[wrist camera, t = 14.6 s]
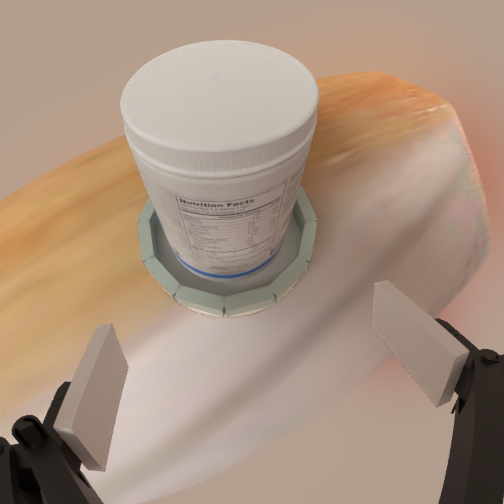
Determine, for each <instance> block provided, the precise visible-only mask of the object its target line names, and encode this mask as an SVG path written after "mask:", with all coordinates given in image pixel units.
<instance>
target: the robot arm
mask: <svg viewBox="0 0 504 504" xmlns="http://www.w3.org/2000/svg"><path fill="white" fill-rule="evenodd" d="M371 328H372V329H373V331H374V332H375V333H376V334H377V335H378V337H379V338H380V339H381V340H382V341H383V342H384V344H385V345H386V346H387V347H388V348H389V350H390V351H391V352H392V353H393V354H394V356H395V357H396V358H397V359H398V361H399V362H400V363H401V364H402V365H403V367H404V368H405V369H406V370H407V371H408V373H409V374H410V375H411V376H412V378H413V379H414V380H415V381H416V383H417V384H418V385H419V386H420V387H421V389H422V390H423V391H424V393H425V394H426V395H427V396H428V398H429V399H430V400H431V401H432V403H433V404H434V405H435V406H436V407H439V406H441V405H443V404H445V403H447V402H449V401H450V400H451V398H452V395H453V393H454V391H455V392H456V393H457V394H458V398H457V400H456V403H455V405H454V407H453V409H452V412H451V413H452V414H453V413H454V411H455V409H456V412H455V420H454V429H453V437H452V442H451V449H450V455H449V460H448V465H447V470H446V475H445V480H444V484H443V488H442V492H441V496H440V500H439V504H503V497H504V355H499V354H498V353H496V352H495V351H493V350H489V349H482V350H479V349H477V348H476V347H475V346H474V345H473V344H472V343H471V342H470V341H468V340H467V339H466V338H465V337H464V336H463V335H460V333H459V332H458V331H457V330H455V329H454V328H453V327H452V326H451V325H450V324H449V323H448V322H445V321H443V320H441V319H439V318H437V319H433V318H432V317H431V316H430V315H429V314H427V313H426V312H425V311H424V310H423V309H422V308H420V307H419V306H418V305H417V304H416V303H415V302H413V301H412V300H411V299H410V298H409V297H407V296H406V295H405V294H404V293H403V292H401V291H400V290H399V289H398V288H397V287H395V286H394V285H393V284H392V283H390V282H389V281H388V280H383V281H379V282H375V284H374V297H373V308H372V318H371ZM127 371H128V364H127V362H126V359H125V357H124V354H123V352H122V349H121V347H120V344H119V342H118V339H117V336H116V334H115V331H114V328H113V325H112V324H101V325H98V326H97V328H96V330H95V332H94V334H93V336H92V338H91V340H90V342H89V345H88V347H87V349H86V351H85V353H84V355H83V357H82V359H81V362H80V364H79V366H78V368H77V370H76V373H75V375H74V377H73V379H72V382H64V383H63V384H62V385H61V386H60V387H59V388H58V389H57V392H56V394H55V396H54V400H52V403H51V407H49V410H48V412H47V414H46V417H45V419H44V422H43V424H42V423H41V422H40V421H39V419H38V418H37V417H35V416H33V415H26V416H23V417H21V418H19V419H18V420H17V421H16V422H15V423H14V425H13V427H12V435H13V436H14V438H15V439H16V440H17V441H18V443H19V444H14V445H10V444H9V443H8V441H7V440H6V439H5V438H3V437H0V504H104V503H103V502H102V501H101V499H100V498H99V497H98V495H97V494H96V492H95V491H94V489H93V488H92V486H91V485H90V483H89V482H88V480H87V479H86V477H85V476H84V474H83V473H82V472H81V471H80V466H81V462H82V464H83V465H84V466H85V467H86V468H87V469H88V470H93V471H104V472H105V470H106V464H107V459H108V454H109V448H110V444H111V439H112V434H113V429H114V425H115V420H116V416H117V411H118V407H119V403H120V399H121V395H122V391H123V387H124V383H125V379H126V375H127Z"/></svg>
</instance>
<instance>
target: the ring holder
mask: <svg viewBox="0 0 504 504" xmlns="http://www.w3.org/2000/svg"><path fill="white" fill-rule="evenodd" d="M300 185H301V183H300ZM138 220H139V222H138V232H139V241H140V249H141V257H142V261H143V264H144V265H145V267H146V268H147V270H148V271H149V272H150V273H151V275H152V276H153V277H154V278H155V279H156V280H157V281H158V283H159V284H160V285H161V286H162V287H163V289H164V290H165V291H166V292H167V293H168V294H169V295H170V296H171V297H172V298H173V299H174V300H175V301H176V303H177V302H178V303H179V304H180V305H182V306H184V307H186V308H188V309H190V310H192V311H194V312H197V313H200V314H203V315H207V316H212V317H221V318H233V317H242V316H247V315H251V314H254V313H257V312H260V311H262V310H264V309H266V308H268V307H270V306H272V305H273V304H275V303H276V302H278V301H279V300H281V299H282V298H283V297H284V296H285V295H286V294H287V293H288V292H289V291H290V290H291V289H292V288H293V287H294V285H295V284H296V282H297V281H298V280H299V279H300V278H301V277H302V276H303V275H304V273H305V272H306V270H307V268H308V266H309V264H310V262H311V258H312V253H313V247H314V242H315V236H316V230H317V225H318V222H317V220H318V219H317V217H316V215H315V212H314V210H313V208H312V206H311V203H310V201H309V199H308V197H307V194H306V192H305V190H304V188H303V186H299V190H298V193H297V197H296V200H295V204H294V207H293V211H292V214H291V218H290V221H289V224H288V228H287V231H286V234H285V238H284V241H283V244H282V246H281V248H280V251H279V252H278V254H277V256H276V257H275V258H274V260H273V261H272V262H271V263H270V264H269V265H268V266H267V267H266V268H265V269H263V270H262V271H260V272H259V273H257V274H255V275H253V276H251V277H249V278H246V279H243V280H239V281H233V282H217V281H212V280H208V279H205V278H202V277H200V276H198V275H196V274H194V273H192V272H191V271H189V270H188V269H187V268H186V267H184V266H183V265H182V264H181V263H180V261H179V260H178V259H177V257H176V256H175V254H174V252H173V250H172V248H171V246H170V244H169V242H168V239H167V237H166V235H165V233H164V230H163V228H162V226H161V223H160V221H159V219H158V216H157V214H156V212H155V209H154V207H153V204H152V202H151V200H150V197H149V198H148V200H147V202H146V204H145V206H144V208H143V210H142V212H141V214H140V216H139V218H138Z"/></svg>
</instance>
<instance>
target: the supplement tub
mask: <svg viewBox="0 0 504 504" xmlns="http://www.w3.org/2000/svg"><path fill="white" fill-rule="evenodd" d="M318 102H319V89H318V85H317V82H316V80H315V78H314V76H313V75H312V74H311V72H310V71H309V70H308V69H307V68H306V67H305V66H304V65H303V64H302V63H301V62H299V61H298V60H297V59H295V58H294V57H292V56H291V55H289V54H287V53H285V52H283V51H281V50H278V49H276V48H273V47H270V46H267V45H263V44H259V43H254V42H249V41H241V40H212V41H205V42H198V43H193V44H188V45H185V46H182V47H178V48H175V49H173V50H170V51H168V52H165V53H163V54H161V55H159V56H157V57H156V58H154V59H152V60H151V61H149V62H148V63H146V64H145V65H144V66H142V67H141V68H140V69H139V70H138V71H137V72H136V73H135V74H134V75H133V76H132V77H131V78H130V80H129V81H128V83H127V84H126V86H125V88H124V90H123V93H122V95H121V99H120V108H121V114H122V118H123V121H124V130H125V135H126V138H127V140H128V144H129V146H130V149H131V152H132V154H133V157H134V160H135V163H136V165H137V168H138V170H139V173H140V175H141V178H142V180H143V183H144V185H145V188H146V190H147V192H148V195H149V197H150V200H151V202H152V204H153V207H154V209H155V212H156V214H157V216H158V219H159V221H160V223H161V226H162V228H163V230H164V233H165V235H166V237H167V239H168V242H169V244H170V246H171V248H172V250H173V252H174V254H175V256H176V257H177V259H178V260H179V261H180V263H181V264H182V265H183V266H184V267H186V268H187V269H188V270H189V271H191V272H192V273H194V274H196V275H198V276H200V277H202V278H205V279H208V280H212V281H217V282H233V281H239V280H243V279H246V278H249V277H251V276H253V275H255V274H257V273H259V272H260V271H262V270H263V269H265V268H266V267H267V266H268V265H269V264H270V263H271V262H272V261H273V260H274V258H275V257H276V256H277V254H278V252H279V251H280V248H281V246H282V244H283V241H284V238H285V234H286V231H287V228H288V224H289V221H290V218H291V214H292V211H293V207H294V204H295V200H296V197H297V193H298V190H299V186H300V183H301V179H302V176H303V172H304V169H305V165H306V162H307V158H308V154H309V151H310V147H311V142H312V139H313V135H314V131H315V127H316V124H317V107H318Z"/></svg>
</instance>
